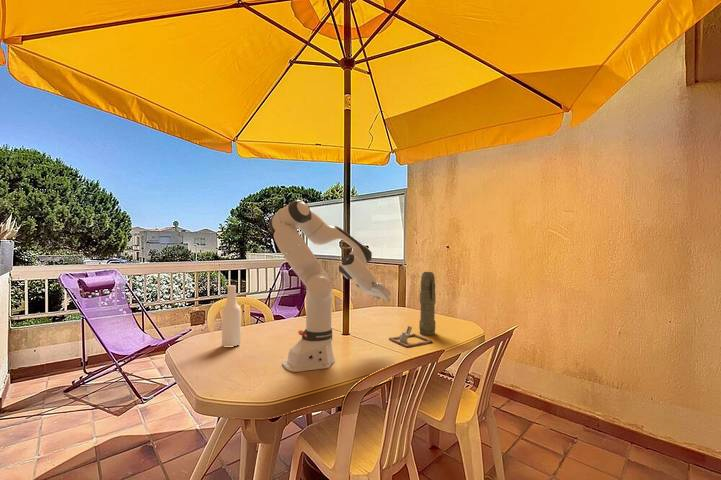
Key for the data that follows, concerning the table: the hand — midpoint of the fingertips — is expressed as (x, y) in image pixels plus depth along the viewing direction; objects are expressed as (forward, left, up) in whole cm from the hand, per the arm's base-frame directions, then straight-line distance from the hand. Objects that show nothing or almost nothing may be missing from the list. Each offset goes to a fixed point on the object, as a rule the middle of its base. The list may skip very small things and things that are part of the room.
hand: (383, 299), depth 172 cm
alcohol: (-66, +38, -24) cm, 79 cm away
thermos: (+35, +7, -24) cm, 43 cm away
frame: (+17, 0, -23) cm, 29 cm away
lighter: (+14, 0, -24) cm, 28 cm away
